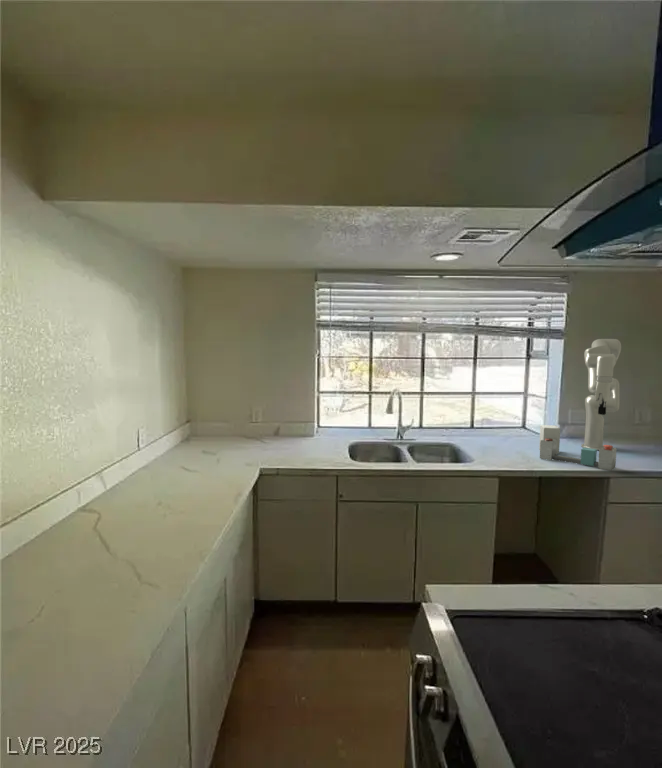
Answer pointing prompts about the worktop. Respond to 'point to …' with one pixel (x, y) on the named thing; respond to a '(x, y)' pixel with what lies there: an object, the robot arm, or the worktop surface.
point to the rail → (571, 460)
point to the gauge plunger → (608, 447)
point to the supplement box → (550, 434)
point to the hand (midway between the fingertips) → (601, 414)
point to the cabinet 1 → (548, 448)
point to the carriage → (588, 456)
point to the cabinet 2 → (607, 458)
